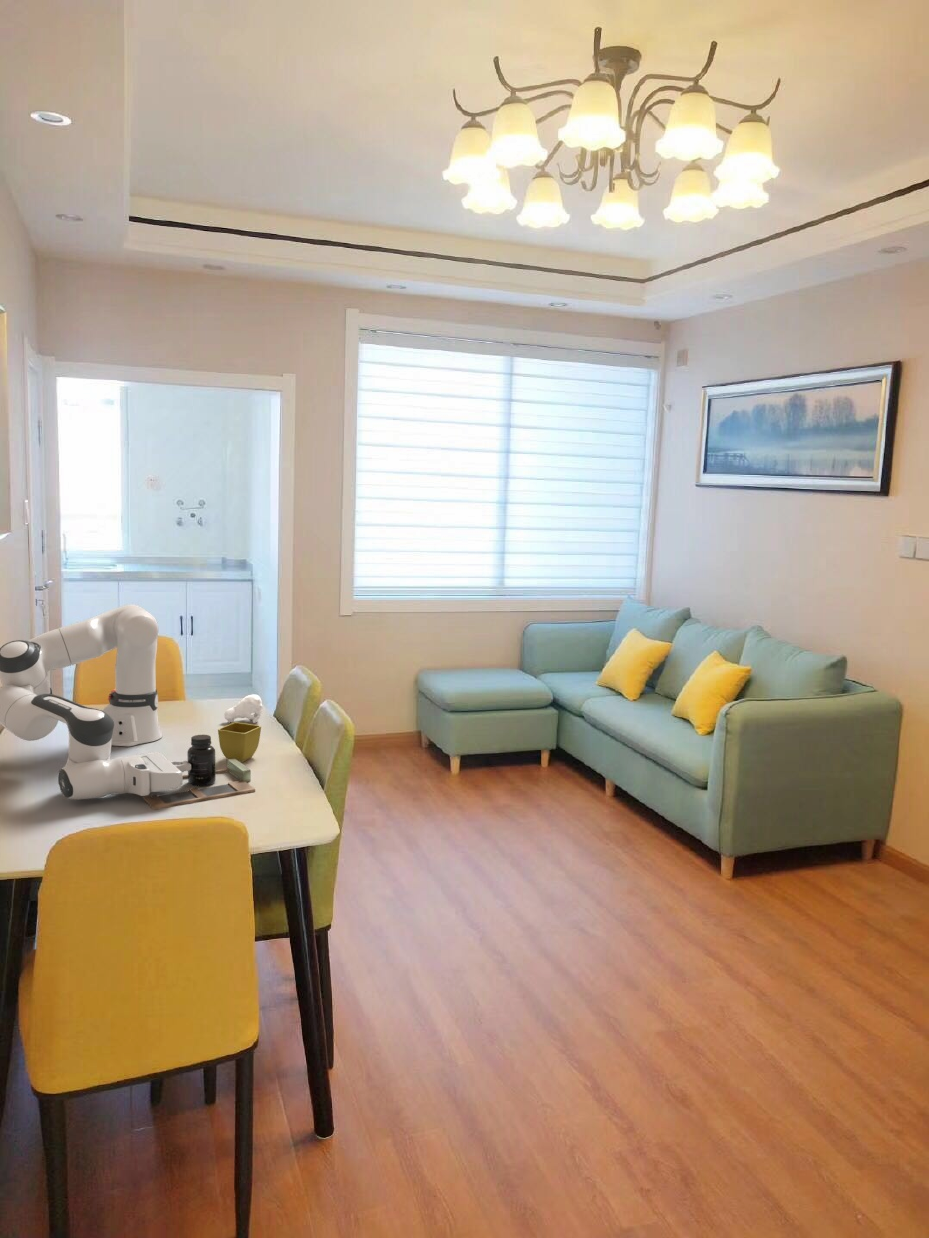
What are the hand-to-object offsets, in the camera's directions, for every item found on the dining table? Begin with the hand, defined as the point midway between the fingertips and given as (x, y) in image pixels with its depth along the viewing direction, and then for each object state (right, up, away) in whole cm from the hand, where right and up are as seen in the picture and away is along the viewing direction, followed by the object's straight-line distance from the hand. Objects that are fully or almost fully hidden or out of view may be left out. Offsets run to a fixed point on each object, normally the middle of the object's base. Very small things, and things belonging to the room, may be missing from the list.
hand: (189, 765), depth 230 cm
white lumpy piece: (-1, +4, +62) cm, 62 cm away
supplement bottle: (+2, -5, +3) cm, 7 cm away
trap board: (+2, -6, -1) cm, 6 cm away
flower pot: (+7, -2, +24) cm, 25 cm away
